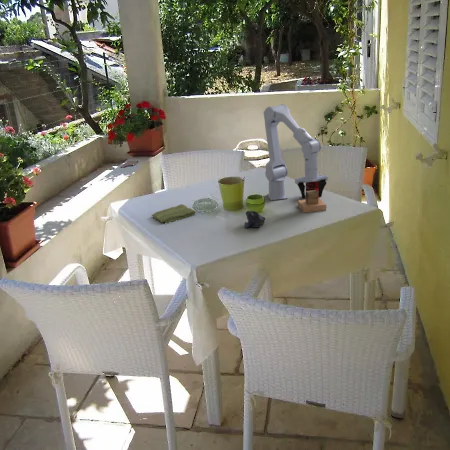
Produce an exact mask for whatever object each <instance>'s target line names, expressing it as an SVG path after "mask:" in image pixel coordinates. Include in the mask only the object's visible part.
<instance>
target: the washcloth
mask: <svg viewBox="0 0 450 450" xmlns="http://www.w3.org/2000/svg"><path fill="white" fill-rule="evenodd" d="M192 215H193V216H194V215H196V210H194V209H191V208H190V207H188V206H186V205H185V204H178V205H176V206H172V207H169V208H166V209H163V210H160V211H155V212H154V213H153V214H151V217H152V216H153V217H154V219H156V221H159V222H160V223H164V222H165V223H168V224H170V223H169V222H171V223H173V222H172V221H174V222H176V220H177V221H180V220H184V219H187V218H190V217H193V216H192ZM189 216H190V217H189ZM153 217H152V218H153ZM186 217H187V218H186ZM179 219H180V220H179ZM165 223H164V224H165Z"/></svg>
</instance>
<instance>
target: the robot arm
mask: <svg viewBox="0 0 450 450" xmlns="http://www.w3.org/2000/svg"><path fill="white" fill-rule="evenodd" d="M290 112H291V111H290V108H289V107H288V105H286V104H284V103H282V104H278V105H272V106H267V107H266V108H265V109H264V111H263V117H264V118H263V119H264V128H265V129H264V130H265V134H266V142H267V149H268V159H269V161H268V162H267V164H266V165H265V172H264V173H265V177H266V179H267V180H268V193H267V194H266V195H267V196H268V198H269V199H270V200H271V201H278V200H287V199H288V197H287V195H286V189H285V188H286V187H285V180H286V177H287V176H288V173H289V170H288V167H287V165H286V161H285V160H283V159H282V157H281V149H280V140H279V132H278V125H279V124H280V122H281V123H283V124H284V125H285V126H286V127H287V128H288V129H289V130H291V132H292V133H293V135H292V137H293V139H294V140H296V142H297V143H298V144H299V146H301V148H300V149H301V152H302V154H303V158H304V176H302V177H298V178H294V183H295V185H297V187H298V189H299V192H300V194H301V198H302V200H306V182H315V181H318V195H319V198H322V195H323V191H324V189H325V187H326V185H327V181H329V176H328V175H322V176H318V172H319V152H320V151H321V149H322V147H321V145H322V144H321V142H320V141H319V140H318V139H317V138H314V137H312V136H311V135H310V134H309V132H307V130H306V128H304V127H300V126H299V125H298V123H297V122H296V121H295V119H294V118H293V116H292V115H291V113H290Z"/></svg>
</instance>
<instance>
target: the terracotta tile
mask: <svg viewBox="0 0 450 450" xmlns="http://www.w3.org/2000/svg"><path fill="white" fill-rule="evenodd" d="M297 206H298V207H299V208H300V209H301V211H302V212H303V213H304V214H305V213H311V212H312V213H314V212H321V211H326V210H327V204H326V203H325V202H324V201H323V200H322V199H321V197H319V198H318V204H311V205H308V204H307V203H306V199H300V200H297Z"/></svg>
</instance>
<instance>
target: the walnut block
mask: <svg viewBox="0 0 450 450" xmlns="http://www.w3.org/2000/svg"><path fill="white" fill-rule="evenodd" d="M305 200H306V203H307V204H308V205H311V204H318V192H317V191H316V190H311V191H306V190H305Z"/></svg>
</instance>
